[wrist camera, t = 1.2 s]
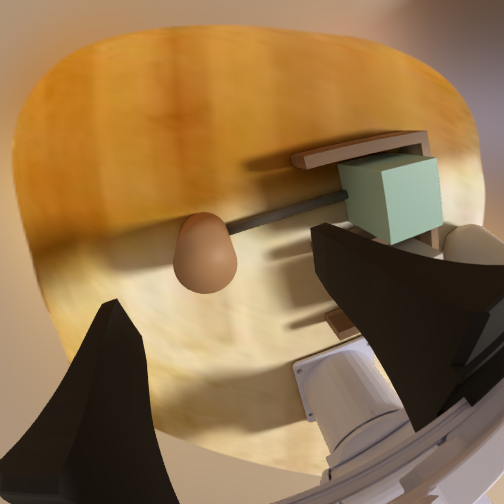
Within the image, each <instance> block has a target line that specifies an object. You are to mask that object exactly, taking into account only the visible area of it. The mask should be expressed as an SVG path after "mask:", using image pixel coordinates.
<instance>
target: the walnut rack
mask: <svg viewBox="0 0 504 504" xmlns="http://www.w3.org/2000/svg"><path fill="white" fill-rule="evenodd" d="M398 147H399V149H400V154H409V155H418V156H427V157H431V152H430V146H429V140H428V135H427V131H399V132H393V133H388V134H382V135H377V136H372V137H367V138H362V139H358V140H353V141H348V142H344V143H339V144H335V145H330V146H326V147H322V148H318V149H314V150H309V151H305V152H301V153H297V154H294V155H290V158H291V162H292V166H293V167H298V168H303V169H310V168H314V167H318V166H322V165H326V164H330V163H333V162H337V161H341V160H346V159H350V158H354V157H358V156H362V155H366V154H371V153H375V152H380V151H384V150H389V149H393V148H398ZM348 231H350V232H353V233H355V234H358V235H361V236H363V237H366V238H368V239H371V240H374V241H377V242H379V243H382V244H385V245H388V244H389V243H387V242H385V241H383V240H381V239H380V238H378V237H376V236H374V235H373V234H371V233H369V232H367V231H365V230H364V229H362V228H360V227H356V228H353V229H350V230H348ZM413 238H415V239H417V240H419V241H421V242H423V243H425V244H427V245H429V246H431V247H433V248H435V249H437V250H438V251H439V234H438V227H436V228H434V229H431V230H429V231H426V232H424V233H421V234H419V235H416V236H414V237H413ZM311 246H312V242H311ZM312 250H313V246H312ZM325 316H326V321H327V323H328V324H329V326H330V327H331V328H332V330H333V331H334V333H335V334H336V336H337V337H338V338H339V340H343V339H345V338H348V337H350V336H353V335H355V334H357V333H360V331H359V330H358V329H357V328H356V326H355V325H354V324H353V323H352V322H351V320H350V319H349V318H348V317H347V315H346V314H345V313H344V312H343V311H342V309H341V308H339V309H337V310H334V311H332V312H329V313H326V314H325Z"/></svg>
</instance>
